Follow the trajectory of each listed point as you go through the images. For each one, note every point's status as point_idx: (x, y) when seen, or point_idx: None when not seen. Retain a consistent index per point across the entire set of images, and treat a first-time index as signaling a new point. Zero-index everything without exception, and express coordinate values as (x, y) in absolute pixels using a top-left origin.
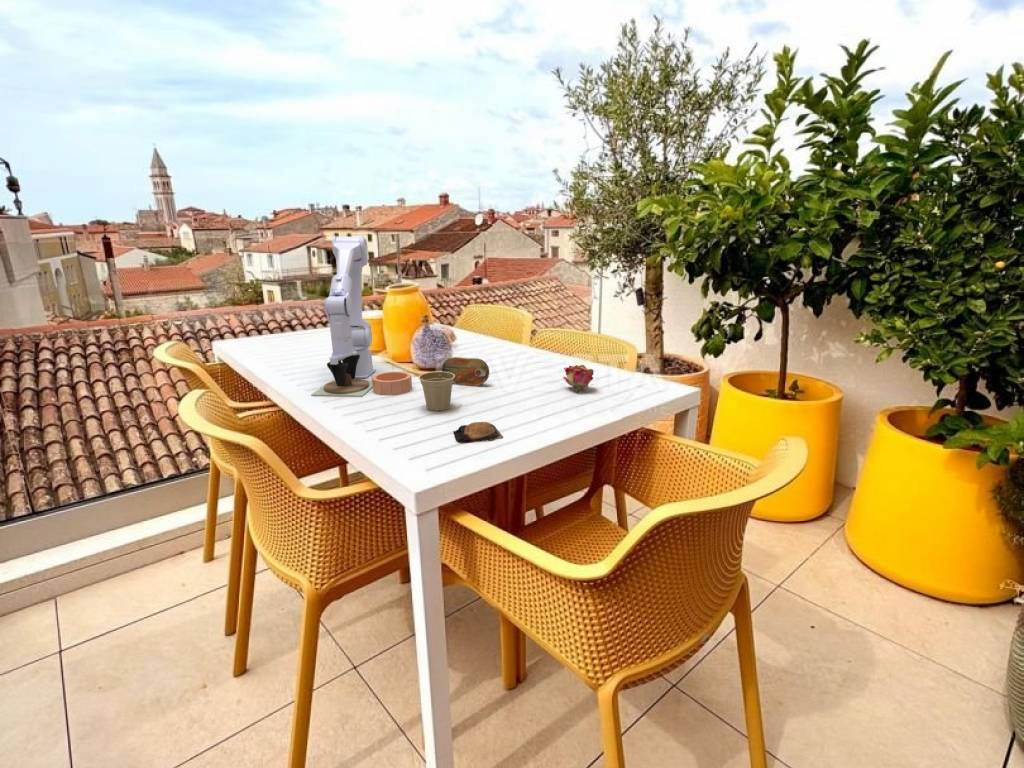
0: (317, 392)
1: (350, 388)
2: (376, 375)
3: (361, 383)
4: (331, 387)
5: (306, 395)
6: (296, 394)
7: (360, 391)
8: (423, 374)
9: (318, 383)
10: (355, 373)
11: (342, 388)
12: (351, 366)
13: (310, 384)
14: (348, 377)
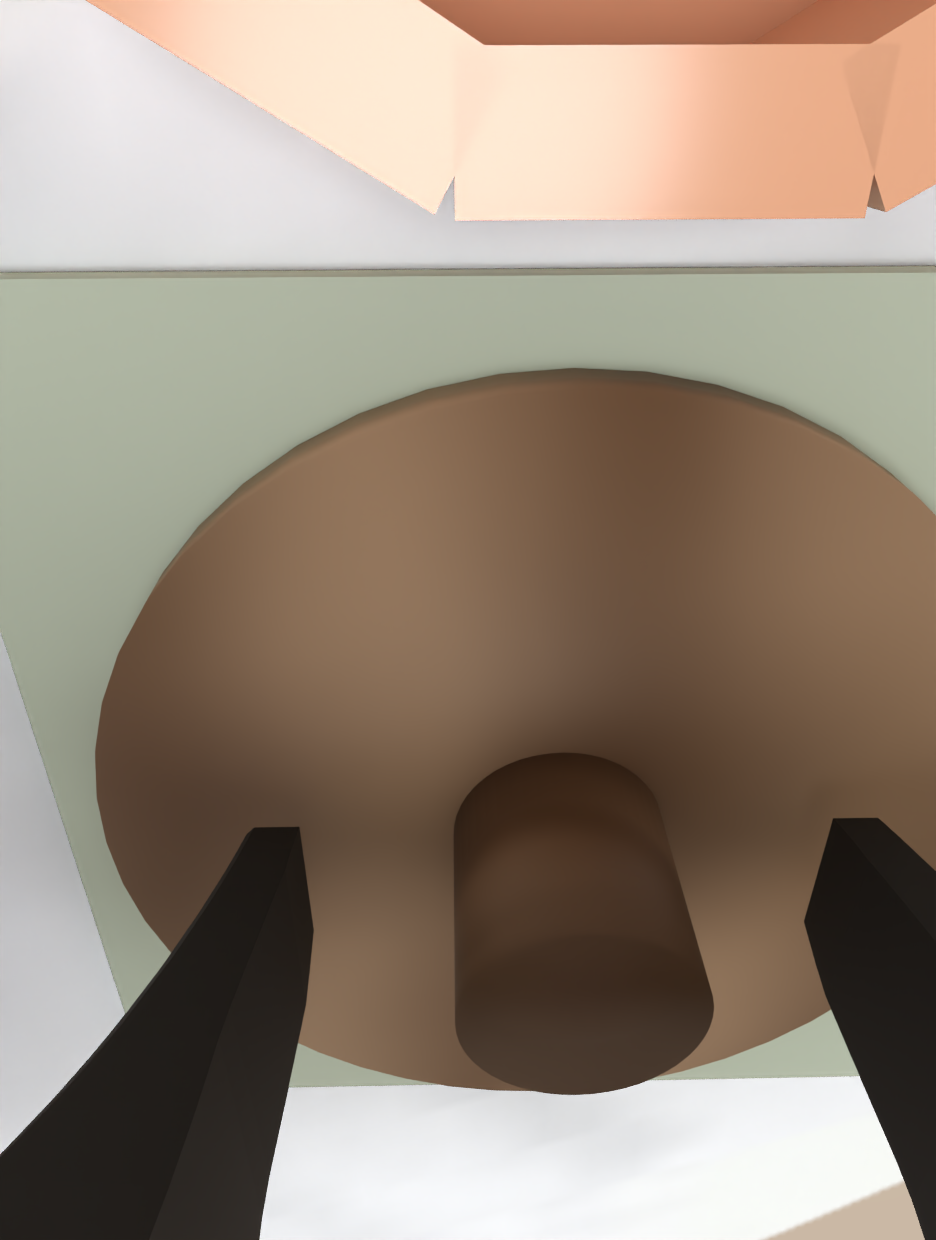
0: (827, 1046)
1: (847, 680)
2: (550, 114)
3: (451, 591)
4: (724, 978)
5: (867, 1099)
6: (801, 1183)
7: (896, 436)
8: None
9: (306, 1160)
10: (215, 900)
11: (823, 813)
12: (227, 1151)
13: (366, 1205)
14: (664, 915)
